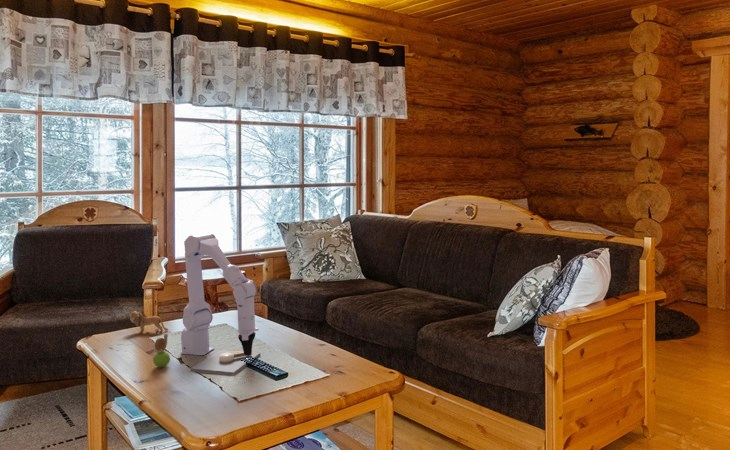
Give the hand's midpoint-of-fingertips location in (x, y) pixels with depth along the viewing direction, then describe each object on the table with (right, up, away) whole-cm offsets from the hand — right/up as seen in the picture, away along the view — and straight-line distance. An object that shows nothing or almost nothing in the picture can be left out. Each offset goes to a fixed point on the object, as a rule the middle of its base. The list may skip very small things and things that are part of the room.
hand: (247, 354), depth 214 cm
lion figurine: (-48, +1, +39) cm, 62 cm away
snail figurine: (-29, -4, -2) cm, 29 cm away
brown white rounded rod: (-4, -2, +2) cm, 5 cm away
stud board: (-7, -3, 0) cm, 8 cm away
